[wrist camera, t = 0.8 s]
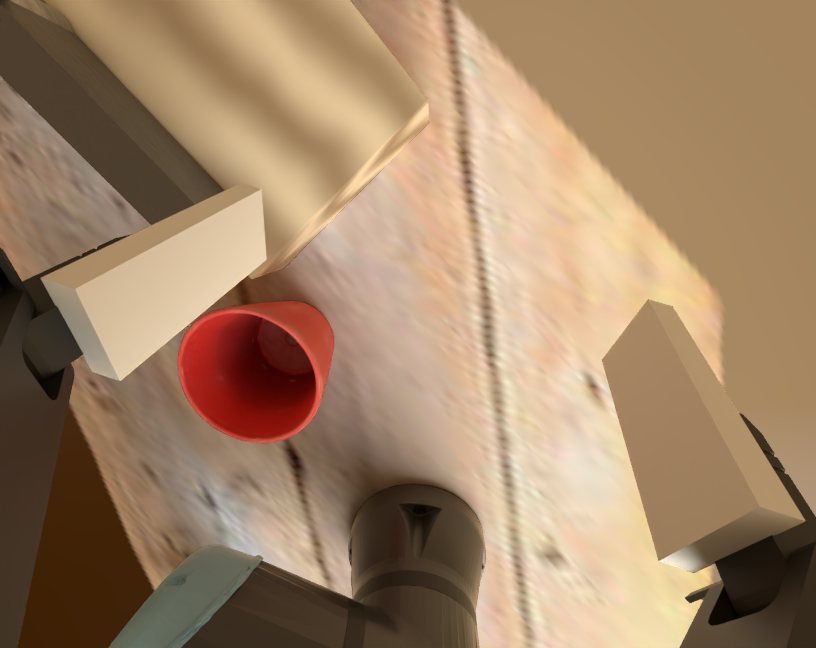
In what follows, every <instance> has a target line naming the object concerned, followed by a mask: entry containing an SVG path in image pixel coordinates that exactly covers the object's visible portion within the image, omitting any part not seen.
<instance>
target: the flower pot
mask: <svg viewBox="0 0 816 648" xmlns="http://www.w3.org/2000/svg"><path fill="white" fill-rule="evenodd" d="M333 349H334V335H333V331H332V329H331V326H330V324H329V322H328V321H327V319H326V318H325V317H324V316H323V315H322V314H321V313H320V312H319V311H318V310H317V309H315V308H314V307H312V306H310V305H308V304H306V303H303V302H299V301H276V302H263V303H254V304H246V305H240V306H233V307H228V308H223V309H219V310H215V311H212V312H210V313H208V314H206V315H204V316H202V317H201V318H199V319H198V320H197V321H196V322H195V323H194V324H192V326H191V327H190V328H189V329H188V331H187V332H186V334H185V335H184V337H183V339H182V342H181V345H180V348H179V353H178V373H179V379H180V382H181V385H182V388H183V391H184V393H185V395H186V397H187V399H188V401H189V402H190V404H191V405H192V407H193V408H194V410H195V411H196V412H197V413H198V414H199V415H200V417H202V418H203V419H204V420H205V421H206V422H207V423H208V424H210V425H211V426H212V427H214V428H215V429H217V430H219V431H220V432H222V433H224V434H226V435H228V436H231V437H233V438H236V439H239V440H242V441H247V442H253V443H271V442H277V441H281V440H284V439H287V438H289V437H291V436H293V435H295V434H297V433H298V432H299V431H301V430H302V429H304V428H305V427H306V426H307V425H308V424H309V423H310V421H311V420H312V419H313V417H314V416H315V414H316V412H317V410H318V408H319V405H320V403H321V400H322V397H323V393H324V389H325V386H326V382H327V378H328V374H329V370H330V365H331V360H332V354H333Z"/></svg>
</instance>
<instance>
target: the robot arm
mask: <svg viewBox="0 0 816 648" xmlns="http://www.w3.org/2000/svg"><path fill="white" fill-rule="evenodd" d="M266 260H267V257H266V243H265V229H264V215H263V201H262V189H260V188H256V187H253V186H249V185H246V184H242V183H240V184H238V185H236V186H234V187H231V188H229V189H227V190H225V191H223V192H221V193H219V194H217V195H215V196H212V197H210V198H208V199H206V200H204V201H202V202H200V203H198V204H196V205H193V206H191V207H189V208H187V209H185V210H183V211H181V212H179V213H177V214H174V215H172V216H170V217H168V218H166V219H164V220H162V221H160V222H158V223H155V224H153V225H151V226H149V227H147V228H145V229H143V230H141V231H139V232H136V233H134V234H132V235H128V236H123V237H119V238H115V239H113V240H111V241H109V242H107V243H105V244H102V245H100V246H98V247H97V249H92V250H89V251H87V252H85V253H83V254H82V256H76V257H74V258H72V259H70V260H68V261H66V262H64V263H61V264H59V265H57V266H55V267H53V268H51V269H48V270H46V271H44V272H42V273H40V274H38V275H36V276H33V277H31V278H29V279H27V280H25V281H23V282H22V281H21V279H20V277H19V276H18V274H17V272H16V271H15V269H14V267H13V266H12V264H11V262H10V261H9V259H8V257H7V256H6V254H5V252H4V250H3V249H1V248H0V648H17V647H18V642H19V638H20V633H21V628H22V623H23V619H24V614H25V608H26V604H27V599H28V594H29V590H30V585H31V580H32V575H33V570H34V566H35V561H36V556H37V551H38V547H39V542H40V537H41V533H42V528H43V523H44V518H45V513H46V509H47V504H48V499H49V494H50V490H51V484H52V480H53V475H54V470H55V465H56V461H57V456H58V451H59V447H60V441H61V437H62V432H63V427H64V423H65V418H66V413H67V409H68V404H69V399H70V394H71V389H72V385H73V380H74V369H73V367H72V365H71V362H73V361H74V360H76V359H77V358H79V357H80V356H81V355H83V357H84V358H85V360H86V362H87V364H88V366H89V367H90V369H91V371H92V372H94V373H97V374H100V375H103V376H106V377H109V378H112V379H115V380H118V381H121V380H122V379H124V378H125V377H126V376H127V375H128V374H130V373H131V372H132V371H133V370H134V369H136V368H137V367H138V366H139V365H140V364H142V363H143V362H144V361H145V360H146V359H148V358H149V357H150V356H151V355H152V354H154V353H155V352H156V351H157V350H158V349H160V348H161V347H162V346H163V345H164V344H166V343H167V342H168V341H169V340H171V339H172V338H173V337H174V336H175V335H177V334H178V333H179V332H180V331H181V330H183V329H184V328H185V327H186V326H187V325H189V324H190V323H191V322H192V321H193V320H195V319H196V318H197V317H198V316H199V315H201V314H202V313H203V312H204V311H205V310H207V309H208V308H209V307H210V306H211V305H213V304H214V303H215V302H216V301H217V300H219V299H220V298H221V297H222V296H223V295H225V294H226V293H227V292H228V291H229V290H231V289H232V288H233V287H234V286H236V285H237V284H238V283H239V282H240V281H242V280H243V279H244V278H245V277H246V276H248V275H249V274H250V273H251V272H252V271H254V270H255V269H256V268H257V267H258V266H260V265H261V264H262V263H263V262H264V261H266ZM602 362H603V365H604V369H605V373H606V376H607V380H608V383H609V387H610V390H611V394H612V397H613V401H614V404H615V408H616V411H617V415H618V419H619V422H620V426H621V429H622V433H623V436H624V440H625V443H626V447H627V450H628V454H629V457H630V461H631V465H632V468H633V472H634V475H635V479H636V482H637V486H638V489H639V493H640V496H641V500H642V504H643V507H644V511H645V514H646V518H647V521H648V525H649V528H650V532H651V535H652V539H653V542H654V546H655V550H656V553H657V557H658V560H659V561H660V562H663V563H666V564H669V565H672V566H675V567H678V568H681V569H684V570H687V571H690V572H693V573H695V572H697V571H699V570H701V569H704V568H706V567H708V566H710V565H712V564H714V563H715V564H716V566H717V569H718V571H719V574H720V577H721V579H722V580H721V581H719V582H716V583H714V584H711V585H709V586H706V587H704V588H702V589H699V590H697V591H694V592H692V593H690V594H689V595H688V596H687V597H685V599H686V600H687V601H688V602H689V603H692V602H694V601H697V600H699V599H701V600H703V602H702V604H701V606H700V608H699V610H698V612H697V614H696V616H695V618H694V620H693V622H692V624H691V626H690V628H689V630H688V632H687V634H686V636H685V638H684V640H683V642H682V644H681V646H680V648H816V517H815V515H814V514H813V512H812V511H811V509H810V507H809V506H808V504H807V503H806V501H805V500H804V498H803V497H802V495H801V494H800V492H799V490H798V489H797V488H796V486H795V484H794V483H793V481H792V480H791V478H790V477H789V475H788V474H785V473H784V472H785V469H784V468H783V466H782V464H781V463H780V461H779V460H778V458H776V457H774V452H773V450H772V449H771V447H770V446H769V444H768V443H767V441H766V440H765V438H764V436H763V435H762V434H761V433H760V431H758V429H757V428H755V426H753V424H752V423H751V422H750V421H749V420H748V419H747V418H746V417H744V415H742V414H740V413H738V411H737V410H736V408H735V406H734V405H733V403H732V402H731V400H730V398H729V397H728V395H727V393H726V392H725V390H724V389H723V387H722V385H721V384H720V382H719V381H718V379H717V377H716V376H715V374H714V373H713V371H712V369H711V368H710V366H709V364H708V363H707V361H706V360H705V358H704V356H703V355H702V353H701V352H700V350H699V348H698V347H697V345H696V344H695V342H694V340H693V339H692V337H691V335H690V334H689V332H688V331H687V329H686V327H685V326H684V324H683V323H682V321H681V319H680V318H679V316H678V315H677V313H676V311H675V310H674V308H673V306H669V305H666V304H662V303H659V302H655V301H652V300H647V301H646V303H645V304H644V305H643V307H642V308H641V309H640V311H639V312H638V313H637V315H636V316H635V317H634V319H633V320H632V321H631V322H630V324H629V325H628V326H627V328H626V329H625V330H624V332H623V333H622V334H621V336H620V337H619V338H618V340H617V341H616V342H615V344H614V345H613V346H612V347H611V349H610V350H609V351H608V353H607V354H606V355H605V357H604V358H603V359H602ZM348 552H349V560H350V565H351V567H352V571H351V585H352V597H353V599H350V598H348V597H346V596H344V595H342V594H340V593H337V592H335V591H333V590H330V589H328V588H325V587H323V586H321V585H318V584H316V583H314V582H311V581H309V580H307V579H304V578H302V577H300V576H297V575H295V574H292V573H290V572H288V571H285V570H283V569H281V568H278V567H276V566H274V565H271V564H269V563H267V562H264V561H262V560H263V557H261V556H260V555H257V556H255V557H254V556H251V555H248V554H245V553H242V552H240V551H237V550H234V549H231V548H228V547H226V546H223V545H215V544H214V545H208V546H205V547H202V548H200V549H198V550H197V551H195V552H193V553H192V554H191V555H189V556H188V557H187V558H186V559H185V560H184V561H183V562H181V563H180V564H179V565H178V566H177V567H176V568H175V569H174V570H173V571H172V572H171V573H170V575H169V576H168V577H167V578H166V579H165V580H164V581H163V582H162V583H161V584H160V585H159V587H158V588H157V589H156V590H155V591H154V592H153V594H152V595H151V596H150V597H149V598H148V599H147V601H146V602H145V603H144V604H143V605H142V607H141V608H140V609H139V610H138V611H137V613H136V614H135V615H134V616H133V617H132V619H131V620H130V621H129V622H128V624H127V625H126V626H125V628H124V629H123V630H122V631H121V633H120V634H119V635H118V636H117V637H116V639H115V640H114V641H113V642H112V644H111V645H110V646H109V648H479V641H478V632H477V622H476V612H475V610H476V605H477V599H478V592H479V586H480V579H481V577H482V574H483V571H484V567H485V560H486V550H485V543H484V537H483V531H482V527H481V524H480V522H479V520H478V518H477V516H476V515H475V513H474V512H473V511H472V509H471V508H470V507H469V506H468V505H467V504H466V503H465V502H463V501H462V500H461V499H459V498H458V497H456V496H455V495H453V494H451V493H449V492H447V491H445V490H442V489H439V488H436V487H432V486H426V485H416V484H410V485H400V486H395V487H391V488H388V489H385V490H383V491H381V492H379V493H377V494H375V495H374V496H372V497H371V498H370V499H368V500H367V501H366V502H365V503H364V504H363V505H362V507H361V508H360V509H359V511H358V513H357V515H356V517H355V519H354V522H353V526H352V530H351V534H350V538H349V546H348Z"/></svg>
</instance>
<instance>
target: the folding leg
mask: <svg viewBox="0 0 816 648" xmlns="http://www.w3.org/2000/svg"><path fill="white" fill-rule="evenodd" d="M0 76H1V77H2V78H3V79H4V80H5V81H6V82H7V83H8V84H9V85H10V86H11V87H12V88H14V89H15V90H16V91H17V92H18V93H19V94H20V95H21V96H22V97H23V98H24V99H25V100H26V101H27V102H28V103H29V104H30V105H31V106H32V107H33V108H34V109H35V110H36V111H37V112H38V113H39V114H40V115H41V116H42V117H43V118H44V119H45V120H46V121H47V122H48V123H49V124H50V125H51V126H52V127H53V128H54V129H55V130H56V131H57V132H58V133H59V134H60V135H61V136H62V137H63V138H64V139H65V140H66V141H67V142H68V143H69V144H70V145H71V146H72V147H73V148H74V149H75V150H76V151H77V152H78V153H79V154H80V155H81V156H82V157H83V158H84V159H85V160H86V161H87V162H88V163H89V164H90V165H91V166H92V167H93V168H94V169H95V170H96V171H97V172H98V173H99V174H100V175H101V176H102V177H103V178H104V179H105V180H106V181H107V182H108V183H110V184H111V185H112V186H113V187H114V188H115V189H116V190H117V191H118V192H119V193H120V194H121V195H122V196H123V197H124V198H125V199H126V200H127V201H128V202H129V203H130V204H131V205H132V206H133V207H134V208H135V209H136V210H137V211H138V212H139V213H140V214H141V215H142V216H143V217H144V218H145V219H146V220H147V221H148V222H149V223H150V224H151V225H153V224H155V223H158V222H160V221H162V220H164V219H166V218H168V217H170V216H172V215H174V214H177V213H179V212H181V211H183V210H185V209H187V208H189V207H191V206H193V205H196V204H198V203H200V202H202V201H204V200H206V199H208V198H210V197H212V196H215V195H217V194H219V193H221V192H223V191H224V190H223V189H222V188H221V187H220V186H219V185H218V184H217V183H216V182H215V181H214V179H213V178H212V177H211V176H210V175H209V174H208V173H207V172H206V171H205V170H204V169H203V168H202V167H201V166H200V165H199V164H198V163H197V162H196V160H195V159H194V158H193V157H192V156H191V155H190V154H189V153H188V152H187V151H186V150H185V149H184V148H183V147H182V146H181V145H180V144H179V143H178V141H177V140H176V139H175V138H174V137H173V136H172V135H171V134H170V133H169V132H168V131H167V130H166V129H165V128H164V127H163V126H162V125H161V124H160V122H159V121H158V120H157V119H156V118H155V117H154V116H153V115H152V114H151V113H150V112H149V111H148V110H147V109H146V108H145V107H144V106H143V105H142V103H141V102H140V101H139V100H138V99H137V98H136V97H135V96H134V95H133V94H132V93H131V92H130V91H129V90H128V89H127V88H126V87H125V86H124V84H123V83H122V82H121V81H120V80H119V79H118V78H117V77H116V76H115V75H114V74H113V73H112V72H111V71H110V70H109V69H108V68H107V67H106V65H105V64H104V63H103V62H102V61H101V60H100V59H99V58H98V57H97V56H96V55H95V54H94V53H93V52H92V51H91V50H90V49H89V48H88V46H87V45H86V44H85V43H84V42H83V41H82V40H81V39H80V38H79V37H78V36H77V35H76V34H75V31H74V29H73V27H72V25H71V23H70V22H69V21H68V19H67V18H66V17H65V16H64V15H63V14H62V13H61V12H59V11H58V10H56V9H54V8H52V7H50V6H49V5H48V4H47V3H46V2H45V1H44V0H0Z"/></svg>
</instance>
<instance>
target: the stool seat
mask: <svg viewBox="0 0 816 648" xmlns="http://www.w3.org/2000/svg"><path fill="white" fill-rule="evenodd" d="M44 1H45V2H46V3H47V4H48V5H49V6H50V7H52V8H54V9H56V10H58V11H59V12H61V13H62V14H63V15H64V16H65V17H66V18H67V19H68V21H69V22H70V23H71V25H72V27H73V29H74V31H75V34H76V35H77V36H78V37H79V38H80V39H81V40H82V41H83V42H84V43H85V44H86V45H87V46H88V48H89V49H90V50H91V51H92V52H93V53H94V54H95V55H96V56H97V57H98V58H99V59H100V60H101V61H102V62H103V63H104V64H105V65H106V67H107V68H108V69H109V70H110V71H111V72H112V73H113V74H114V75H115V76H116V77H117V78H118V79H119V80H120V81H121V82H122V83H123V84H124V86H125V87H126V88H127V89H128V90H129V91H130V92H131V93H132V94H133V95H134V96H135V97H136V98H137V99H138V100H139V101H140V102H141V103H142V105H143V106H144V107H145V108H146V109H147V110H148V111H149V112H150V113H151V114H152V115H153V116H154V117H155V118H156V119H157V120H158V121H159V122H160V124H161V125H162V126H163V127H164V128H165V129H166V130H167V131H168V132H169V133H170V134H171V135H172V136H173V137H174V138H175V139H176V140H177V141H178V143H179V144H180V145H181V146H182V147H183V148H184V149H185V150H186V151H187V152H188V153H189V154H190V155H191V156H192V157H193V158H194V159H195V160H196V162H197V163H198V164H199V165H200V166H201V167H202V168H203V169H204V170H205V171H206V172H207V173H208V174H209V175H210V176H211V177H212V178H213V179H214V181H215V182H216V183H217V184H218V185H219V186H220V187H221V188H222V189H223V190H224V191H225V190H227V189H229V188H231V187H234V186H236V185H238V184H240V183H242V184H246V185H249V186H253V187H256V188H260V189H262V201H263V215H264V229H265V243H266V257H267V260H266V261H264V262H263V263H262V264H261V265H260V266H258V267H257V268H256V269H255V270H254V271H252V272H251V273H250V274H249V275H248V276H249V277H250V278H251V279H254V278H257V277H260V276H263V275H266V274H269V273H272V272H275V271H278V270H281V269H283V268H284V267H285V266H286V265H287V264H288V263H289V262H290V261H291V260H292V259H293V258H294V257H295V256H296V255H297V254H298V253H299V252H300V251H301V250H302V249H303V248H304V247H305V246H306V245H307V244H308V243H309V242H310V241H311V240H312V239H313V238H314V237H315V236H316V235H317V234H318V233H319V232H320V231H321V230H322V229H323V228H324V227H325V226H326V225H327V224H328V223H329V222H330V221H331V220H332V219H333V218H334V217H335V216H336V215H337V214H338V213H339V212H340V211H341V210H342V209H343V208H344V207H345V206H346V205H347V204H348V203H349V202H350V201H351V200H352V199H353V198H354V197H355V196H356V195H357V194H358V193H359V192H360V191H361V190H362V189H363V188H364V187H365V186H366V185H367V184H368V183H369V182H370V181H371V180H372V179H373V178H374V177H375V176H376V175H377V174H378V173H379V172H380V171H381V170H382V169H383V168H384V167H385V166H386V165H387V164H388V163H389V162H390V161H391V160H392V159H393V158H394V157H395V156H396V155H397V154H398V153H399V152H400V151H401V150H402V149H403V148H404V147H405V146H406V145H407V144H408V143H409V142H410V141H411V140H412V139H413V138H414V137H415V136H416V135H417V134H418V133H419V132H420V131H421V130H422V129H423V128H424V127H425V126H426V125H427V124H428V123H429V111H428V99H427V98H426V96H425V95H424V94H423V93H422V91H421V90H420V89H419V87H418V86H417V85H416V84H415V82H414V81H413V80H412V79H411V77H410V76H409V75H408V73H407V72H406V71H405V70H404V68H403V67H402V66H401V65H400V63H399V62H398V61H397V59H396V58H395V57H394V56H393V54H392V53H391V52H390V51H389V49H388V48H387V47H386V45H385V44H384V43H383V42H382V40H381V39H380V38H379V37H378V35H377V34H376V33H375V31H374V30H373V29H372V28H371V26H370V25H369V24H368V23H367V21H366V20H365V19H364V17H363V16H362V15H361V14H360V12H359V11H358V10H357V9H356V7H355V6H354V5H353V3H352V2H351V1H350V0H44Z"/></svg>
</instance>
